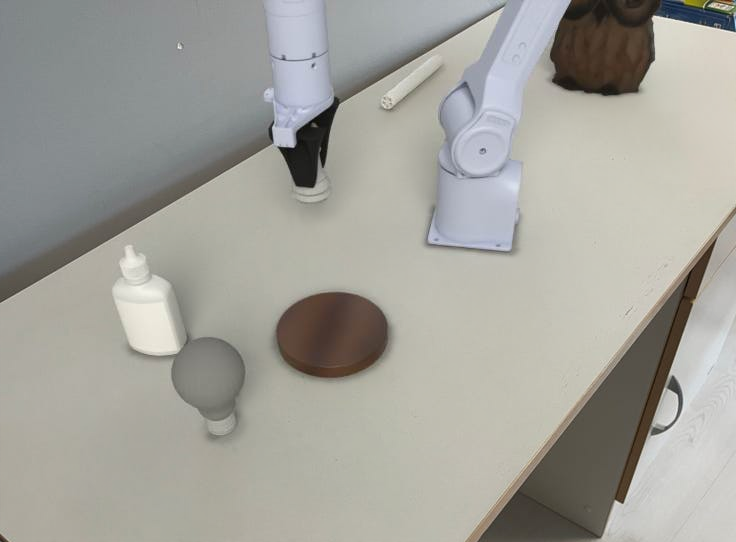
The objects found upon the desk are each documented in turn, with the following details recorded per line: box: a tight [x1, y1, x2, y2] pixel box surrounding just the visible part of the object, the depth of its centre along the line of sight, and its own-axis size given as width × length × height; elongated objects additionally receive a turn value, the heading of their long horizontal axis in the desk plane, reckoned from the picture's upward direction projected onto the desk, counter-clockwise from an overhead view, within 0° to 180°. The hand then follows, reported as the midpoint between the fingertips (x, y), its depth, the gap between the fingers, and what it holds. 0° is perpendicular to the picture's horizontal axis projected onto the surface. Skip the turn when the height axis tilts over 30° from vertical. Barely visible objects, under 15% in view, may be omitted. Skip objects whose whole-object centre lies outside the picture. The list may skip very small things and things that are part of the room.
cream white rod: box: [380, 54, 443, 110], centre depth 111 cm, size 18×2×2 cm, turn 149°
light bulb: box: [170, 336, 246, 436], centre depth 60 cm, size 6×6×10 cm
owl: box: [549, 0, 663, 97], centre depth 103 cm, size 13×13×20 cm
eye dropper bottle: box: [111, 244, 188, 357], centre depth 68 cm, size 4×6×12 cm
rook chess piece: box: [290, 122, 332, 205], centre depth 77 cm, size 4×4×8 cm
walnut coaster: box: [275, 291, 389, 379], centre depth 71 cm, size 11×11×2 cm
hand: (310, 175), depth 78 cm, fingers closed on rook chess piece, 3 cm apart
